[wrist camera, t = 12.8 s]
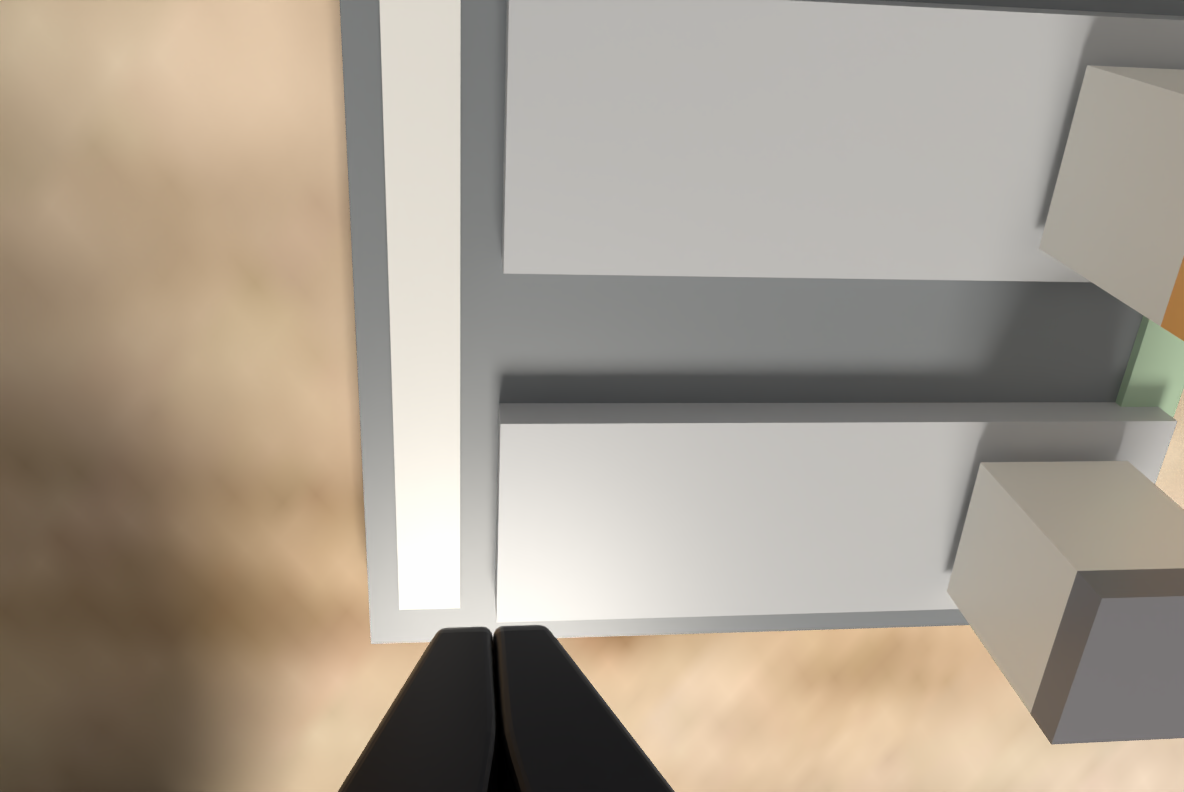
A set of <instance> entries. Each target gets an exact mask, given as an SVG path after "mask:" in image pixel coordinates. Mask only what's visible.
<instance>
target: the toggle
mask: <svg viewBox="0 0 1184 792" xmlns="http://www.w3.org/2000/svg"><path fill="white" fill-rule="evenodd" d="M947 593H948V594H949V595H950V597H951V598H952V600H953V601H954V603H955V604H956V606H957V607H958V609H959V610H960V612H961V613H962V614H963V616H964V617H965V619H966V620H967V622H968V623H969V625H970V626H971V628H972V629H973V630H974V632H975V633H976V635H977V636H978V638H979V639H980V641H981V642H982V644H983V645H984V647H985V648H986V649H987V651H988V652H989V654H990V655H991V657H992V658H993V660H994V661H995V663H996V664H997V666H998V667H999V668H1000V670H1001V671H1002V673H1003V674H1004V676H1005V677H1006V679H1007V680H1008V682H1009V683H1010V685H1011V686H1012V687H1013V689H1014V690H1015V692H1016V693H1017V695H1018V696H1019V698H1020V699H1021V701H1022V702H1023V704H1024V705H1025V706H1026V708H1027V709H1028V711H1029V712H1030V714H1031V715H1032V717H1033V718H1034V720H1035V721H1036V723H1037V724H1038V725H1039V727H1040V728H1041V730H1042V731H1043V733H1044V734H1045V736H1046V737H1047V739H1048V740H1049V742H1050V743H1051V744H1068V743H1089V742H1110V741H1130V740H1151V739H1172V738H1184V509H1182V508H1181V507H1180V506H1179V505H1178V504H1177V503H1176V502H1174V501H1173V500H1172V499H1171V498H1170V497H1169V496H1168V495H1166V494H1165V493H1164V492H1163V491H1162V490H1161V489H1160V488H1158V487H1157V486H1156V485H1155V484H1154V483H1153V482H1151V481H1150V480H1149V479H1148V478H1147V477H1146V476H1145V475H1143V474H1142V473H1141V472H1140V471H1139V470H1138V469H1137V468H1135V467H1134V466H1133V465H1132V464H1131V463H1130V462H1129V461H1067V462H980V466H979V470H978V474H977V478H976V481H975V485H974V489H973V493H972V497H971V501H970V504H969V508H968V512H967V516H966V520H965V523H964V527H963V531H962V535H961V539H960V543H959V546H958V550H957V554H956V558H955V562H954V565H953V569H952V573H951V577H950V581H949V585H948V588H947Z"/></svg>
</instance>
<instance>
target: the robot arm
mask: <svg viewBox="0 0 1184 792" xmlns="http://www.w3.org/2000/svg"><path fill="white" fill-rule="evenodd" d="M338 792H674V790H673V789H672V788H671V786H670V785H669V784H668V782H667V781H666V780H665V779H664V777H663V776H662V775H661V773H660V772H659V771H658V770H657V768H656V767H655V766H654V764H653V763H652V762H651V760H650V759H649V758H648V757H647V755H646V754H645V753H644V751H643V750H642V749H641V748H640V746H639V745H638V744H637V742H636V741H635V740H634V738H633V737H632V736H631V735H630V733H629V732H628V731H627V729H626V728H625V727H624V726H623V724H622V723H621V722H620V720H619V719H618V718H617V716H616V715H615V714H614V713H613V711H612V710H611V709H610V707H609V706H608V705H607V704H606V702H605V701H604V700H603V698H602V697H601V696H600V694H599V693H598V692H597V691H596V689H595V688H594V687H593V685H592V684H591V683H590V682H589V680H588V679H587V678H586V676H585V675H584V674H583V672H582V671H581V670H580V669H579V667H578V666H577V665H576V663H575V662H574V661H573V660H572V658H571V657H570V656H569V654H568V653H567V652H566V650H565V649H564V648H563V647H562V645H561V644H560V643H559V641H558V640H557V639H556V638H555V636H554V635H553V634H552V632H551V631H550V630H549V629H548V628H547V627H545V626H543V625H515V626H500V627H498V628H497V629H496V630H495V632H494V634H493V636H492V632H491V631H490V629H488V628H487V627H483V626H482V627H448V628H443V629H441V630H439V631H438V632H437V633H436V634H435V636H434V637H433V639H432V640H431V642H430V643H429V645H428V647H427V648H426V650H425V652H424V653H423V655H422V656H421V658H420V660H419V661H418V663H417V664H416V666H415V668H414V669H413V671H412V673H411V674H410V676H409V677H408V679H407V681H406V682H405V684H404V686H403V687H402V689H401V690H400V692H399V694H398V695H397V697H396V698H395V700H394V702H393V703H392V705H391V707H390V708H389V710H388V711H387V713H386V715H385V716H384V718H383V719H382V721H381V723H380V724H379V726H378V728H377V729H376V731H375V732H374V734H373V736H372V737H371V739H370V740H369V742H368V744H367V745H366V747H365V749H364V750H363V752H362V753H361V755H360V757H359V758H358V760H357V761H356V763H355V765H354V766H353V768H352V770H351V771H350V773H349V774H348V776H347V778H346V779H345V781H344V782H343V784H342V786H341V787H340V789H339V791H338Z"/></svg>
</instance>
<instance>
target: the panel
mask: <svg viewBox="0 0 1184 792" xmlns="http://www.w3.org/2000/svg"><path fill="white" fill-rule="evenodd" d="M340 15H341V36H342V56H343V77H344V97H345V118H346V139H347V159H348V180H349V200H350V221H351V242H352V262H353V283H354V303H355V324H356V345H357V365H358V386H359V406H360V427H361V448H362V468H363V489H364V509H365V530H366V551H367V571H368V592H369V612H370V633H371V644H381V643H413V642H431V640H432V639H433V637H434V636H435V634H436V633H437V632H438V631H439V630H441V629H443V628H448V627H482V626H483V627H487V628H488V629H490V631H491V632H492V636H493V634H494V632H495V630H496V629H497V628H498V627H500V626H515V625H543V626H545V627H547V628H548V629H549V630H550V631H551V632H552V634H553V635H554V636H555V638H571V637H603V636H635V635H666V634H698V633H730V632H762V631H793V630H825V629H857V628H888V627H920V626H952V625H969V623H968V622H967V620H966V619H965V617H964V616H963V614H962V613H961V612H960V610H959V609H958V607H957V606H956V604H955V603H954V601H953V600H952V598H951V597H950V595H949V594H948V593H947V588H948V585H949V581H950V577H951V573H952V569H953V565H954V562H955V558H956V554H957V550H958V546H959V543H960V539H961V535H962V531H963V527H964V523H965V520H966V516H967V512H968V508H969V504H970V501H971V497H972V493H973V489H974V485H975V481H976V478H977V474H978V470H979V466H980V462H1067V461H1129V462H1130V463H1131V464H1132V465H1133V466H1134V467H1135V468H1137V469H1138V470H1139V471H1140V472H1141V473H1142V474H1143V475H1145V476H1146V477H1147V478H1148V479H1149V480H1150V481H1151V482H1153V483H1154V484H1155V483H1156V480H1157V477H1158V474H1159V472H1160V469H1161V466H1162V463H1163V460H1164V457H1165V455H1166V452H1167V449H1168V446H1169V443H1170V440H1171V438H1172V435H1173V432H1174V429H1175V426H1176V424H1177V421H1176V420H1175V419H1174V418H1173V417H1174V414H1175V411H1176V408H1177V405H1178V403H1179V400H1180V397H1181V394H1182V391H1183V388H1184V341H1183V340H1181V339H1179V338H1178V337H1176V336H1175V335H1173V334H1172V333H1170V332H1169V331H1167V330H1165V329H1164V328H1162V327H1161V326H1159V325H1158V324H1156V323H1154V322H1153V321H1151V320H1150V319H1148V318H1147V317H1145V316H1144V315H1142V314H1140V313H1139V312H1137V311H1136V310H1134V309H1133V308H1131V307H1129V306H1128V305H1126V304H1125V303H1123V302H1122V301H1120V300H1119V299H1117V298H1115V297H1114V296H1112V295H1111V294H1109V293H1108V292H1106V291H1104V290H1103V289H1101V288H1100V287H1098V286H1097V285H1095V284H1094V283H1092V282H1090V281H1089V280H1087V279H1086V278H1084V277H1083V276H1081V275H1079V274H1078V273H1076V272H1075V271H1073V270H1072V269H1070V268H1069V267H1067V266H1065V265H1064V264H1062V263H1061V262H1059V261H1058V260H1056V259H1054V258H1053V257H1051V256H1050V255H1048V254H1047V253H1045V252H1044V251H1042V250H1040V249H1039V246H1040V242H1041V239H1042V235H1043V231H1044V227H1045V223H1046V220H1047V216H1048V212H1049V208H1050V204H1051V201H1052V197H1053V193H1054V189H1055V185H1056V182H1057V178H1058V174H1059V170H1060V166H1061V163H1062V159H1063V155H1064V151H1065V147H1066V144H1067V140H1068V136H1069V132H1070V128H1071V125H1072V121H1073V117H1074V113H1075V109H1076V106H1077V102H1078V98H1079V94H1080V90H1081V87H1082V83H1083V79H1084V75H1085V71H1086V68H1087V65H1091V66H1114V67H1136V68H1159V69H1181V70H1184V0H340Z"/></svg>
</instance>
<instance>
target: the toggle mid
mask: <svg viewBox="0 0 1184 792" xmlns="http://www.w3.org/2000/svg"><path fill="white" fill-rule="evenodd" d="M1039 249H1040V250H1042V251H1044V252H1045V253H1047V254H1048V255H1050V256H1051V257H1053V258H1054V259H1056V260H1058V261H1059V262H1061V263H1062V264H1064V265H1065V266H1067V267H1069V268H1070V269H1072V270H1073V271H1075V272H1076V273H1078V274H1079V275H1081V276H1083V277H1084V278H1086V279H1087V280H1089V281H1090V282H1092V283H1094V284H1095V285H1097V286H1098V287H1100V288H1101V289H1103V290H1104V291H1106V292H1108V293H1109V294H1111V295H1112V296H1114V297H1115V298H1117V299H1119V300H1120V301H1122V302H1123V303H1125V304H1126V305H1128V306H1129V307H1131V308H1133V309H1134V310H1136V311H1137V312H1139V313H1140V314H1142V315H1144V316H1145V317H1147V318H1148V319H1150V320H1151V321H1153V322H1154V323H1156V324H1158V325H1159V326H1161V327H1162V328H1164V329H1165V330H1167V331H1169V332H1170V333H1172V334H1173V335H1175V336H1176V337H1178V338H1179V339H1181V340H1183V341H1184V70H1181V69H1159V68H1136V67H1114V66H1091V65H1087V68H1086V71H1085V75H1084V79H1083V83H1082V87H1081V90H1080V94H1079V98H1078V102H1077V106H1076V109H1075V113H1074V117H1073V121H1072V125H1071V128H1070V132H1069V136H1068V140H1067V144H1066V147H1065V151H1064V155H1063V159H1062V163H1061V166H1060V170H1059V174H1058V178H1057V182H1056V185H1055V189H1054V193H1053V197H1052V201H1051V204H1050V208H1049V212H1048V216H1047V220H1046V223H1045V227H1044V231H1043V235H1042V239H1041V242H1040V246H1039Z"/></svg>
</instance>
